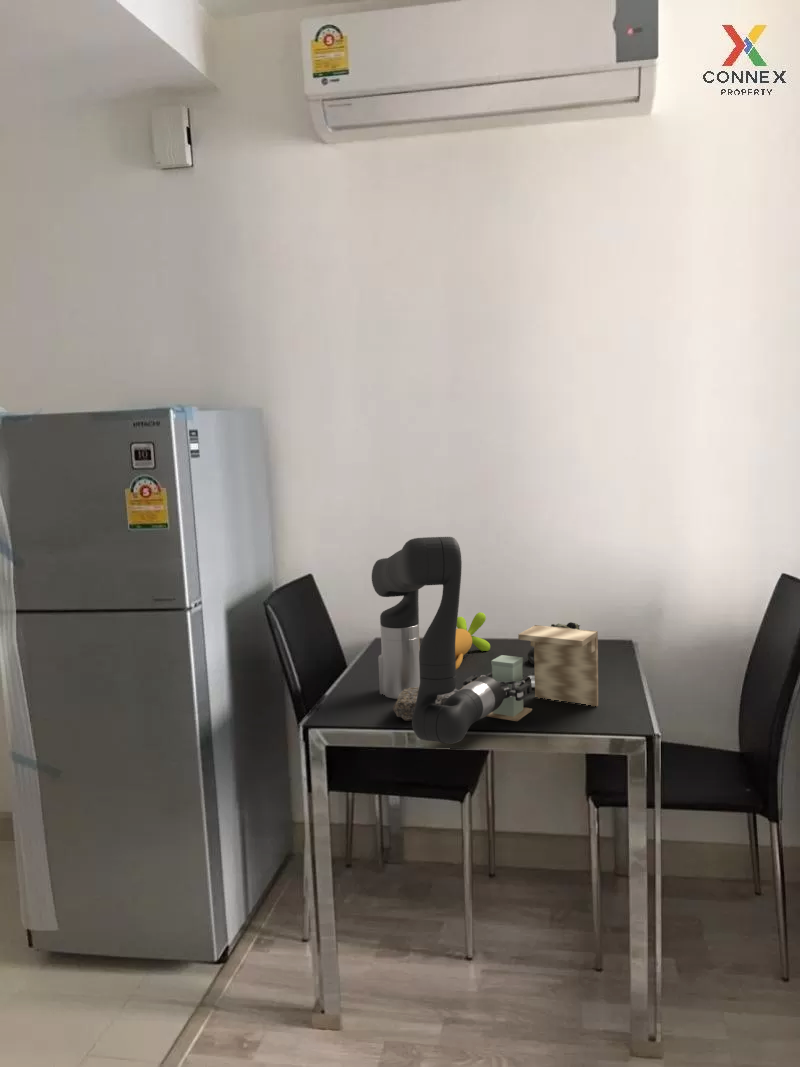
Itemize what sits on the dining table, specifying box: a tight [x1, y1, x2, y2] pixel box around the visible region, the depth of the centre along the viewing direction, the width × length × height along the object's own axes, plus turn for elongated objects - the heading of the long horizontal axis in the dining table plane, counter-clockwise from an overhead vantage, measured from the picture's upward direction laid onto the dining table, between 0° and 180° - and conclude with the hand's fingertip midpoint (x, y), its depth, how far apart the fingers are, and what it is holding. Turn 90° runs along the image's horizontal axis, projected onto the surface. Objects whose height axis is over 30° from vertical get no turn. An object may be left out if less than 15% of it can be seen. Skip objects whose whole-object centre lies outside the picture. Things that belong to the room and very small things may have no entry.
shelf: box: [517, 624, 599, 708], centre depth 204 cm, size 15×10×17 cm, turn 58°
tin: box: [490, 654, 524, 717], centre depth 201 cm, size 5×5×12 cm
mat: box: [486, 706, 533, 722], centre depth 202 cm, size 8×8×1 cm
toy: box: [455, 611, 491, 670], centre depth 245 cm, size 13×14×30 cm
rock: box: [392, 686, 460, 722], centre depth 203 cm, size 13×6×15 cm
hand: (511, 678), depth 202 cm, fingers open, 8 cm apart
